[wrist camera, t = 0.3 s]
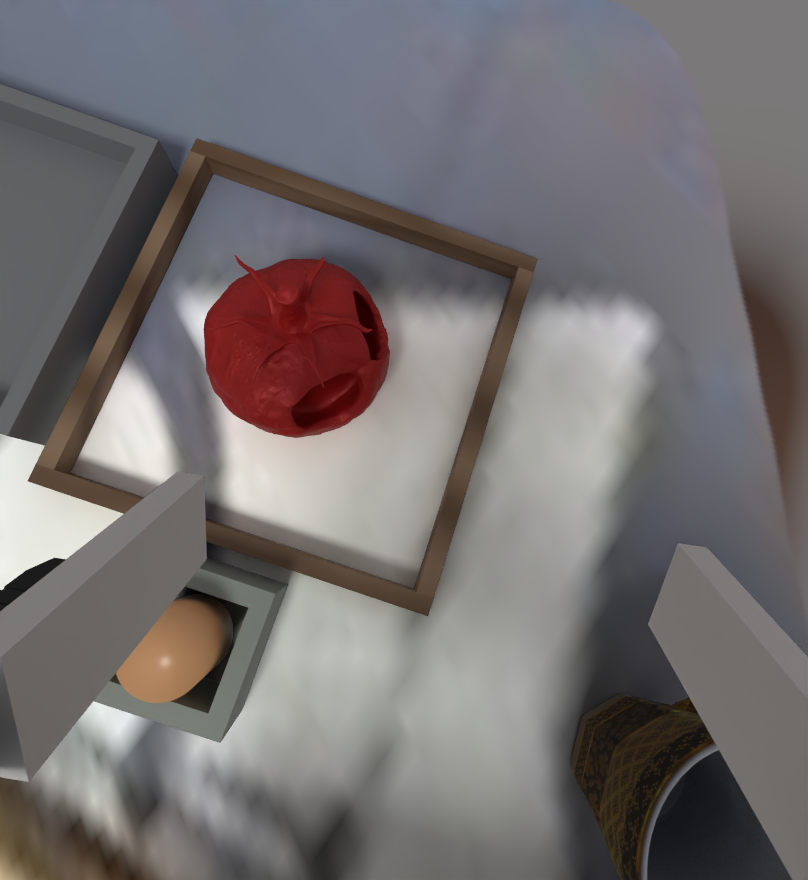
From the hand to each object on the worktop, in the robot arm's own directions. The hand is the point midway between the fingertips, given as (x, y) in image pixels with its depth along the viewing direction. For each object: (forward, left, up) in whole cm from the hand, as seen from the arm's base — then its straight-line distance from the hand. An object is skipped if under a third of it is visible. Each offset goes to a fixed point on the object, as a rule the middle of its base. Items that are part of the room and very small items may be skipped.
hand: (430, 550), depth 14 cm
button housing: (-8, +9, -15) cm, 19 cm away
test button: (-8, +9, -13) cm, 18 cm away
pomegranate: (+8, +9, -16) cm, 20 cm away
